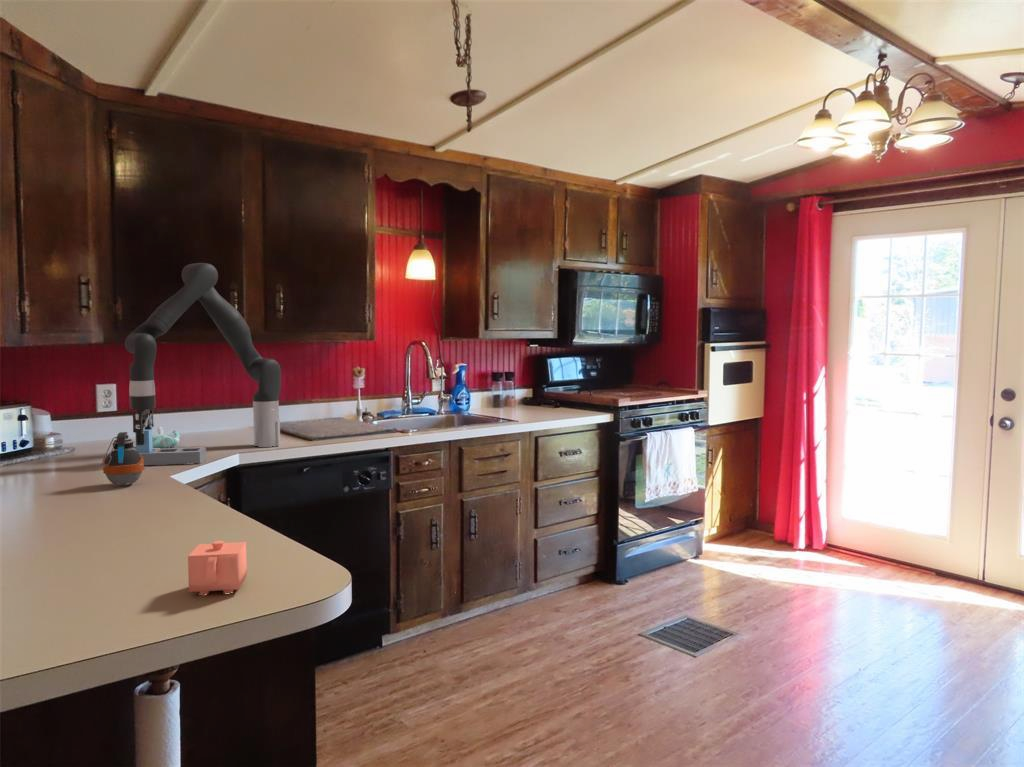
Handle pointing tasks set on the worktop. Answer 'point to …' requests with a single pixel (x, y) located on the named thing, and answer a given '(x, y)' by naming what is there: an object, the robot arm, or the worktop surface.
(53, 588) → the worktop surface
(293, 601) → the worktop surface
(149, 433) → the plug
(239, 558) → the pink cube teapot
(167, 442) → the figurine
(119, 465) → the grenade
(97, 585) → the worktop surface
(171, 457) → the panel
